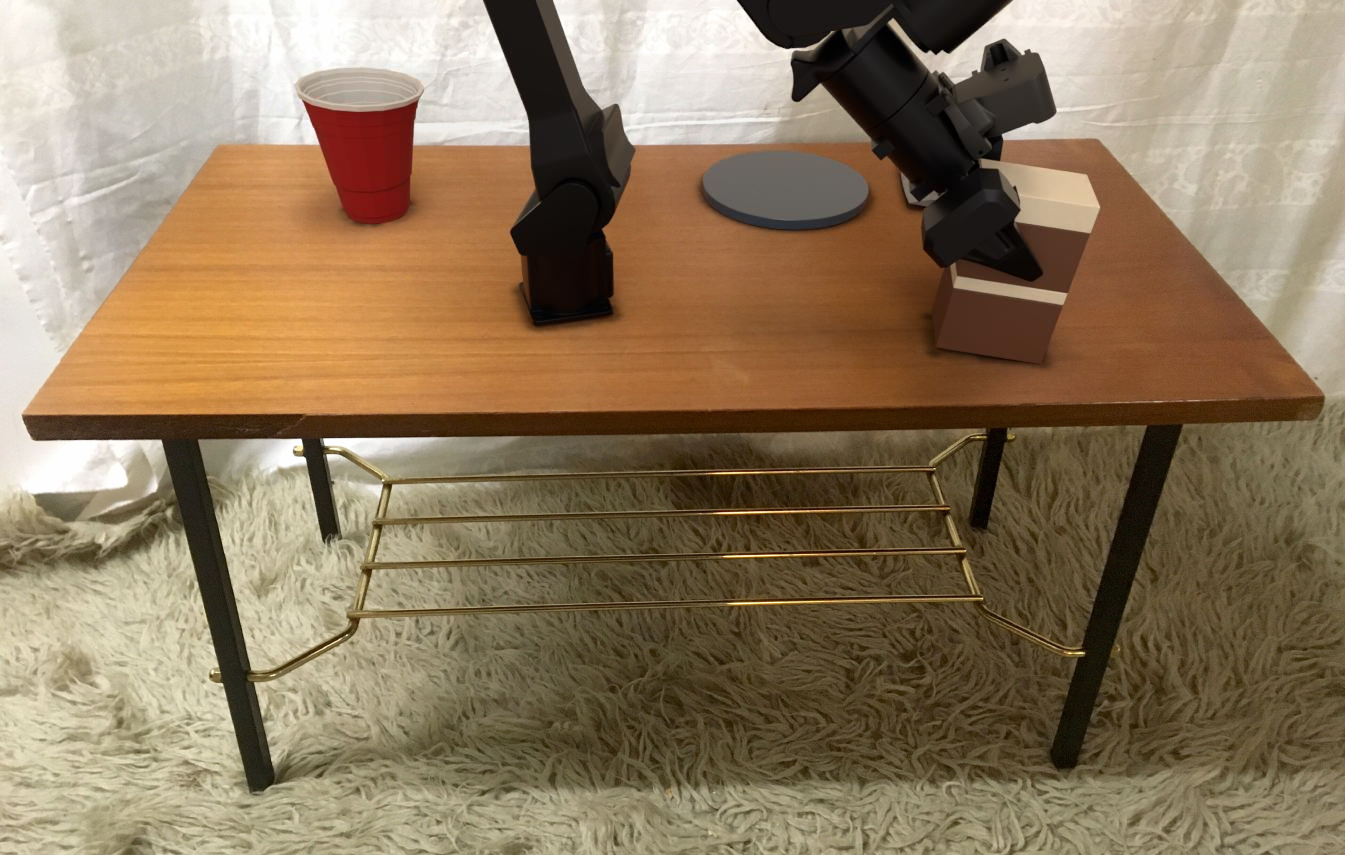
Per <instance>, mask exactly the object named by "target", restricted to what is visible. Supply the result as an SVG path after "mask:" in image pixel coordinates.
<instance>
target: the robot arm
mask: <svg viewBox="0 0 1345 855" xmlns="http://www.w3.org/2000/svg"><path fill="white" fill-rule="evenodd" d="M1013 1H1014V0H736V2H737V3H738V5H740V6H739V7H741V8H742V10H743V11H744V12H745V14H746V15H747V16H748V18H749V19H750V21H752V23H753V24H754V26H755V27H756V28H757V30H758V31H759V32H760V33H761V35H762V36H763V37H764V38H765V39H766V40H767V41H768V42H770V43H771V44H773V45H774V46H776V47H778V48H782V49H785V50H792V49H793V51H792V53H791V57H790V67H791V72H792V88H791V94H790V98H791V100H792V101H793V102H794V103H800V102H802V101H803V100H804V99H805V98H806V97H807V96H808V95H809V94H811V92H813V91H814V90H815V89H816V88H817V87H818V86H819V85H821V86H822V87H823V88H824V90H826V91H827V92H828V93H829V95H831V97H832V98H833V99H834V100H835V101H836V102H837V104H839V105H840V106H841V108H842V109H843V110H844V111H845V112H846V113H847V115H849V116H850V118H851V119H852V120H853V121H854V122H855V123H856V124H857V126H859V127H860V129H862V131H863V132H864V133H865V134H866V135H867V136H868V138H870V141H871V142H870V149H871V150H870V151H871V152H872V153H873V154H874V155H875V156H876V157H877V158H878V160H879V161H883V160H884V159H885V158H886V157H887V158H888V159H889V160H890V162H891V163H892V164H893V165H894V166H895V167H896V168H897V170H899V171H901V172H902V173H903V174H904V176H905V177H906V178H907V179H908V180H909V190H910V193H911V194H912V195H913V196H914V198H915V199H916V200H917V201H918V202H920V201H921V200H922V199H924V198H925V197H926V196H928V195H929V194H930V193H932V192H933V191H935V192H936V193H937V195H938V196H939V198H938V199H936V200H935V201H934V202H932V203H931V204H930V205H928V206H927V207H926V206H925V208H923V209H922V216H921V223H920V232H921V243H922V250H923V251H924V252H925V254H926V255H927V256H928V257H929V258H930V259H931V260H932V261H933V262H934V263H935V265H936V266H938V267H939V269H944V268H947V267H949V266H951V265H952V264H954V263H955V262H956V261H958V260H959V259H962V260H965V261H969V262H972V263H976V264H979V265H983V266H986V267H988V268H992V269H994V270H997V271H1000V272H1003V273H1006V274H1009V275H1011V276H1014V277H1017V278H1020V279H1023V280H1026V281H1028V282H1033V281H1035V280H1037V279H1038V278H1039V277H1041V276H1042V275H1043V269H1042V268H1041V266H1040V264H1039V262H1038V260H1037V259H1036V257H1035V255H1034V253H1033V252H1032V250H1031V248H1030V246H1029V245H1028V243H1027V241H1026V239H1025V238H1024V236H1023V234H1022V233H1021V231H1020V229H1019V227H1018V226H1017V224H1016V222H1015V218H1016V217H1017V215H1018V214H1019V212H1020V211H1021V208H1020V199H1019V195H1018V191H1017V188H1016V185H1015V186H1014V187H1012V185H1011V184H1010V182H1009V181H1008V179H1007V178H1006V177H1005V176H1004V175H1003V174H1002V172H1001V171H1000V170H999V169H996V168H983V167H982V163H981V159H987V160H994V161H1000V162H1001V160H1002V153H1003V146H1004V136H1003V135H1004V134H1006V133H1009V132H1012V131H1014V130H1018V129H1020V128H1022V127H1026V126H1028V125H1031V124H1035V125H1038V124H1042V123H1044V122H1046V121H1048V120H1051V119H1052V118H1053V117H1054V116H1056V114H1057V111H1058V110H1057V106H1056V103H1055V99H1054V96H1053V93H1052V92H1053V91H1052V88H1051V85H1050V81H1049V78H1048V75H1047V71H1046V68H1045V65H1044V63H1043V60H1042V57H1041V55H1040V53H1039V52H1033V51H1032V50H1031V48H1028V49H1026V50H1023V52H1024V54H1022V53H1021V52H1020V50H1019V49H1017V48H1016V47H1015V46H1014V45H1013V44H1012V43H1010V41H1009V40H1007V39H1006V38H1001V39H999V40H996V41H994V42H992V43H988V44H986V45H985V46H984V48H983V53H982V57H981V58H982V59H981V63H980V70H979V71H978V69H974V70H971V76H970V77H967V78H966V79H963V80H961V81H958V82H957V83H954V82H953V81H952V79H951V78H950V77H949V76H948V75H947V73H945V72H944V71H941V72H938V70H937V69H935V70H934V71H933V72H932V71H931V70H929V68H928V67H927V66H926V65H925V63H923V61H922V60H921V59H920V58H919V57H918V56H917V54H916V53H915V52H914V51H913V50H912V48H911V47H910V46H909V45H908V44H907V43H906V41H905V40H904V39H903V38H902V37H901V35H900V34H898V33H897V31H896V30H895V29H894V28H893V27H892V25H891V24H890V23H889V22H891V21H892V20H894V21H895V22H896V23H897V25H898V26H899V27H900V28H901V30H902V31H903V32H904V34H905V35H906V36H907V38H908V39H909V40H910V41H911V43H913V44H914V46H916V48H917V49H919V50H920V51H921V52H922V53H924V54H928V53H929V52H930V53H932V54H933V55H934V56H938V55H939V54H940V53H941V52H944V53H946V54H947V55H951V54H952V53H953V52H954V51H955V50H957V49H958V48H959V47H960V46H961V45H962V44H963V43H965V42H967V40H969V38H971V37H972V36H973V35H974V34H975V33H977V32H978V31H979V30H980V29H982V27H984V26H985V25H986V24H988V22H990V21H991V20H992V19H993V18H994V17H996V16H997V15H998V14H1000V12H1002V11H1003V10H1004V9H1005V8H1006V7H1008V6H1009V5H1010V4H1011V3H1012V2H1013ZM482 2H483V4H484V7H485V10H486V12H487V15H488V17H489V20H490V23H491V26H492V29H493V31H494V33H495V36H496V38H497V42H498V44H499V46H500V48H501V51H502V54H503V57H504V59H505V62H506V64H507V67H508V69H509V72H510V74H511V77H512V80H513V82H514V85H515V87H516V90H517V92H518V95H519V98H520V100H521V103H522V106H523V108H524V110H525V113H526V116H527V122H528V136H529V137H528V138H529V154H530V156H529V157H530V169H531V173H532V178H533V183H534V189H533V191H532V193H531V194H530V196H529V197H528V199H527V201H526V203H525V205H524V206H523V208H521V209H522V210H521V211H520V213H519V215H518V216H517V218H516V219H515V222H514V223H513V225H512V226H511V228H510V230H509V235H510V237H511V239H512V241H513V243H514V246H515V248H516V250H517V252H518V254H519V255H520V261H521V262H520V263H521V276H522V277H521V278H522V281H520V282H519V283H518V289H519V293H520V295H521V298H522V300H523V304H524V306H525V308H526V311H527V313H528V316H529V319H530V322H531V324H532V325H533V326H535V327H542V326H549V325H556V324H564V323H571V322H577V321H583V320H584V321H585V320H591V319H599V318H605V317H610V316H613V314H614V307H613V305H612V303H611V301H610V299H612V298H613V296H614V295H615V288H614V287H615V286H614V284H615V282H614V252H613V250H612V248H611V246H610V245H609V243H608V241H607V236H606V234H605V232H604V230H603V229H604V228H605V227H606V226H608V225H609V224H610V222H611V221H612V219H613V218H614V215H615V213H616V211H617V209H618V206H619V204H620V202H621V199H622V198H623V195H624V192H625V190H626V187H627V185H628V183H629V180H630V178H631V173H632V172H631V171H632V161H633V159H634V156H635V155H636V151H637V150H636V148H635V147H634V146H633V144H632V143H631V142H630V140H629V138H628V136H627V134H626V132H625V128H624V123H623V122H624V121H623V116H622V111H621V107H620V105H619V104H618V103H615V102H614V103H613V104H610V105H609V106H606V107H605V108H601V107H600V105H599V104H598V103H597V102H596V101H595V100H594V99H593V98H592V97H591V95H590V94H589V93H588V91H587V90H586V88H585V86H584V84H583V81H582V79H581V75H580V73H579V70H578V67H577V64H576V62H575V59H574V55H573V53H572V50H571V48H570V44H569V42H568V39H567V35H566V33H565V30H564V28H563V24H562V21H561V19H560V15H559V13H558V10H557V7H556V5H555V2H554V0H482ZM817 44H818V45H817ZM814 45H817V46H816V47H814V48H813V49H810V50H798V49H806V48H809V47H812V46H814ZM794 49H795V50H794ZM901 172H900V173H901Z"/></svg>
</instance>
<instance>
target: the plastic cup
mask: <svg viewBox="0 0 1345 855" xmlns="http://www.w3.org/2000/svg"><path fill="white" fill-rule="evenodd" d="M293 87H294V90H295V91H296V94H297V97H298V99H300V100H301V102H302V103H303V105H304V108H305V111H306V112H307V115H308V118H309V121H310V124H311V127H312V129H313V130H314V133H315V136H316V138H317V140H318V144H319V147H320V150H321V154H322V156H323V158H324V161H325V164H326V167H327V170H328V173H329V175H330V178H331V181H332V184H333V185H334V186H335V189H336V192H337V195H338V197H339V200H340V203H341V206H342V208H343V211H344V212H345V214H346V216H347V218H348V219H351V220H352V221H353V222H358V223H362V224H382V223H389V222H391V221H394V220H397V219H399V218H401V217H403V216H405V214H407V212H408V210H409V203H410V201H411V176H412V174H413V173H412V172H413V155H414V154H413V153H414V135H415V121H416V119H417V118H416V117H417V110H418V108H419V101H420V99H421V97H422V95H424V91H425V86H424V84H423V83H422V82H421V80H420V79H418V78H416V77H413V76H412V75H410V74H407V73H404V72H399V71H395V70H390V69H387V68H386V69H385V68H375V67H373V68H372V67H337V68H331V69H325V70H318V71H314V72H311V73H309V74H306V75H303V76H300V78H299V79H298V80H297V81H296V82H295V83H294V84H293Z"/></svg>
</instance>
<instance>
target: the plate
mask: <svg viewBox="0 0 1345 855" xmlns="http://www.w3.org/2000/svg"><path fill="white" fill-rule="evenodd" d="M869 190H870V188H869V184H868V182H867V180H866V179H865V178H864V176H863V175H862V174H861V173H860V172H859V171H857V170H856V169H854V168H852V167H851V166H850V165H848V164H845V163H844V162H841V161H838V160H836V159H833V158H830V157H827V156H823V155H819V154H815V153H810V152H804V151H797V150H796V151H795V150H782V149H781V150H780V149H779V150H777V149H775V150H757V151H756V150H755V151H748V152H744V153H743V152H742V153H738V154H734V155H731V156H728V157H725V158H723V159H720V160H719V161H717V162H715V163H714V164H712V165H711V166H710V167H708V169H707V170H706V171H705V173H704V174H703V177H702V195H703V197H704V200H705V201H706V202H707V203H708V204H709V205H710V206H711V207H712V208H713V209H714V210H715V211H717V212H718V213H720V214H722V215H724V216H726V217H728V218H731V219H732V220H736V221H738V222H740V223H743V224H747V225H750V226H751V225H752V226H757V227H760V228H761V227H762V228H768V229H777V230H789V231H790V230H791V231H798V230H799V231H800V230H801V231H802V230H813V229H816V230H817V229H822V228H828V227H833V226H836V225H840V224H843V223H845V222H847V221H850V220H852V219H854V218H855V217H857V216H859V214H861V212H863V211H864V209H865V207H866V206H867V204H868V199H869Z"/></svg>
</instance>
